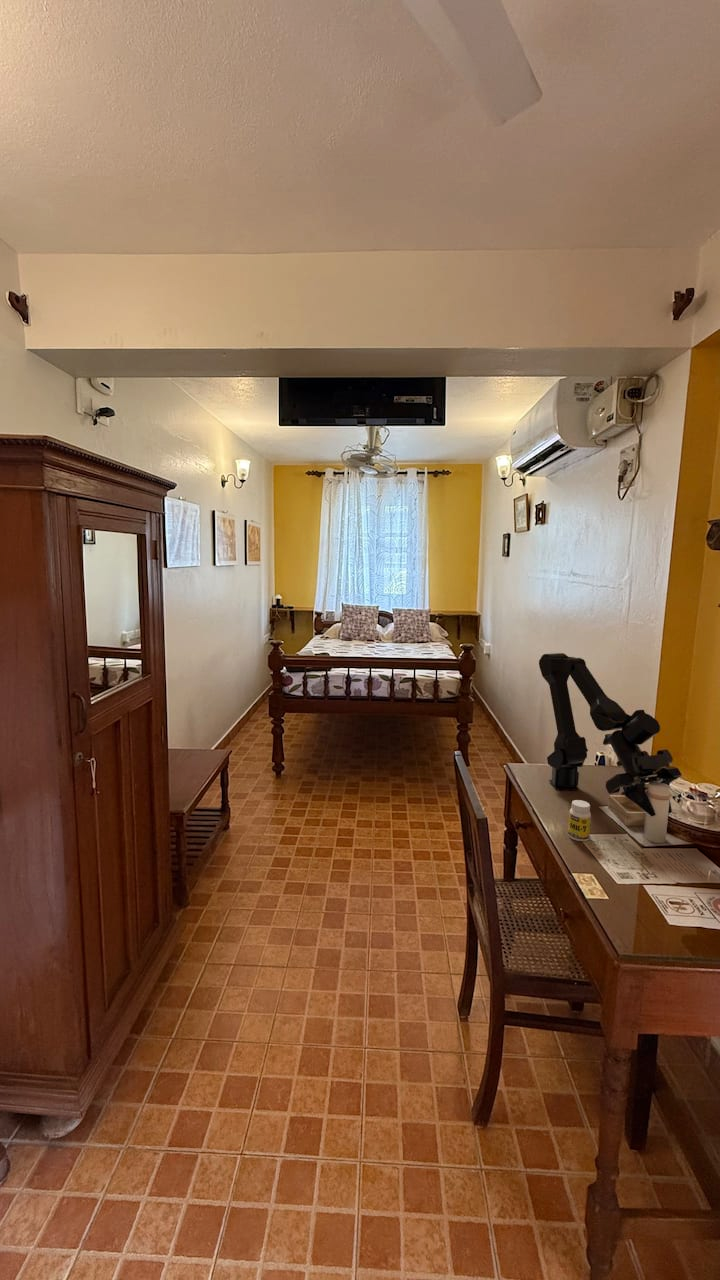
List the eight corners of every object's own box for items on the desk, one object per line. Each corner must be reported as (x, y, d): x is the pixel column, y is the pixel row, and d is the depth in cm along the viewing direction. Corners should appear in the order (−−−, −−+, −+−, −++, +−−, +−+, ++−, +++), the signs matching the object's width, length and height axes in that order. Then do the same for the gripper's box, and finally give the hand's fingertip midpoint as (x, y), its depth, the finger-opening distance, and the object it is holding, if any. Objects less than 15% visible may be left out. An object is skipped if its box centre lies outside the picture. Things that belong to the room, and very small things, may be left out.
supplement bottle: (566, 838, 129) (568, 805, 128) (569, 830, 133) (571, 797, 132) (588, 843, 127) (590, 809, 126) (590, 835, 131) (592, 801, 130)
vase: (649, 842, 128) (654, 789, 126) (639, 832, 132) (644, 781, 130) (669, 843, 128) (675, 790, 126) (659, 833, 132) (664, 782, 130)
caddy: (625, 826, 136) (626, 812, 135) (607, 807, 146) (608, 795, 145) (667, 826, 136) (668, 813, 135) (646, 808, 146) (647, 796, 145)
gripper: (618, 741, 127) (653, 806, 119) (679, 734, 133) (716, 795, 125) (591, 762, 136) (622, 824, 127) (649, 754, 142) (682, 813, 133)
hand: (662, 814), depth 128 cm, fingers closed on vase, 5 cm apart
